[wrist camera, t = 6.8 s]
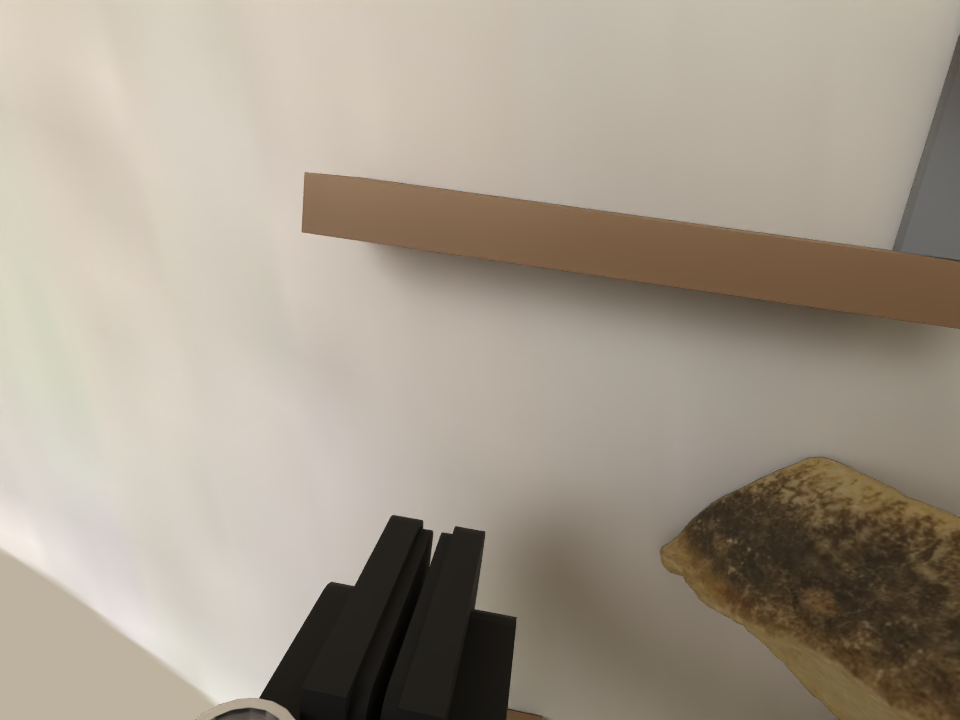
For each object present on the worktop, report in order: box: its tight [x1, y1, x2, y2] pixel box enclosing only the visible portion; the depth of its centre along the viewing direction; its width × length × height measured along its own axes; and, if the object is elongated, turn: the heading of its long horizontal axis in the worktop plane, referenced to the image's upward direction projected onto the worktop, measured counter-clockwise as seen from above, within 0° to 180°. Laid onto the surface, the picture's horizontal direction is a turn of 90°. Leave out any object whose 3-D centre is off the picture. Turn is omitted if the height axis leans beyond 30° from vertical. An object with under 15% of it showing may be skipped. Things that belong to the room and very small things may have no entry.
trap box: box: [302, 35, 960, 720], centre depth 12 cm, size 20×21×4 cm
